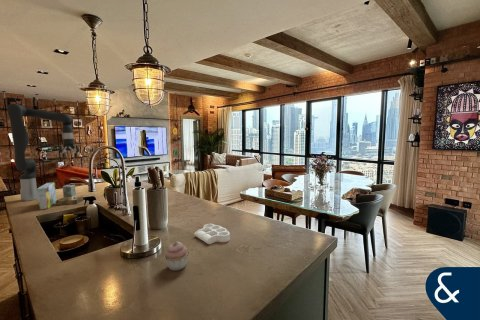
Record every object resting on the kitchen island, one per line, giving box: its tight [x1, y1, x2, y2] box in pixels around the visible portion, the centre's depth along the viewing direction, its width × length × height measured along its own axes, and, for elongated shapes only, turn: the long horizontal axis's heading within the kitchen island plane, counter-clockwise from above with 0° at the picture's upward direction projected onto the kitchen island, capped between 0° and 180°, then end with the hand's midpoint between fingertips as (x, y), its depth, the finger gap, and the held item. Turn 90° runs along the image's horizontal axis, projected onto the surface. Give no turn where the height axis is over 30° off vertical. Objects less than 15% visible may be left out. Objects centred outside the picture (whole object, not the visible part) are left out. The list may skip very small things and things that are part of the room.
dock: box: [55, 196, 84, 206], centre depth 178 cm, size 14×10×3 cm
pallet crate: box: [62, 184, 77, 200], centre depth 177 cm, size 6×6×10 cm
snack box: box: [36, 182, 58, 211], centre depth 171 cm, size 21×6×15 cm, turn 25°
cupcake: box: [163, 241, 190, 272], centre depth 88 cm, size 9×9×10 cm
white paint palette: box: [193, 223, 231, 245], centre depth 114 cm, size 3×18×15 cm
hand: (70, 157), depth 197 cm, fingers open, 8 cm apart
